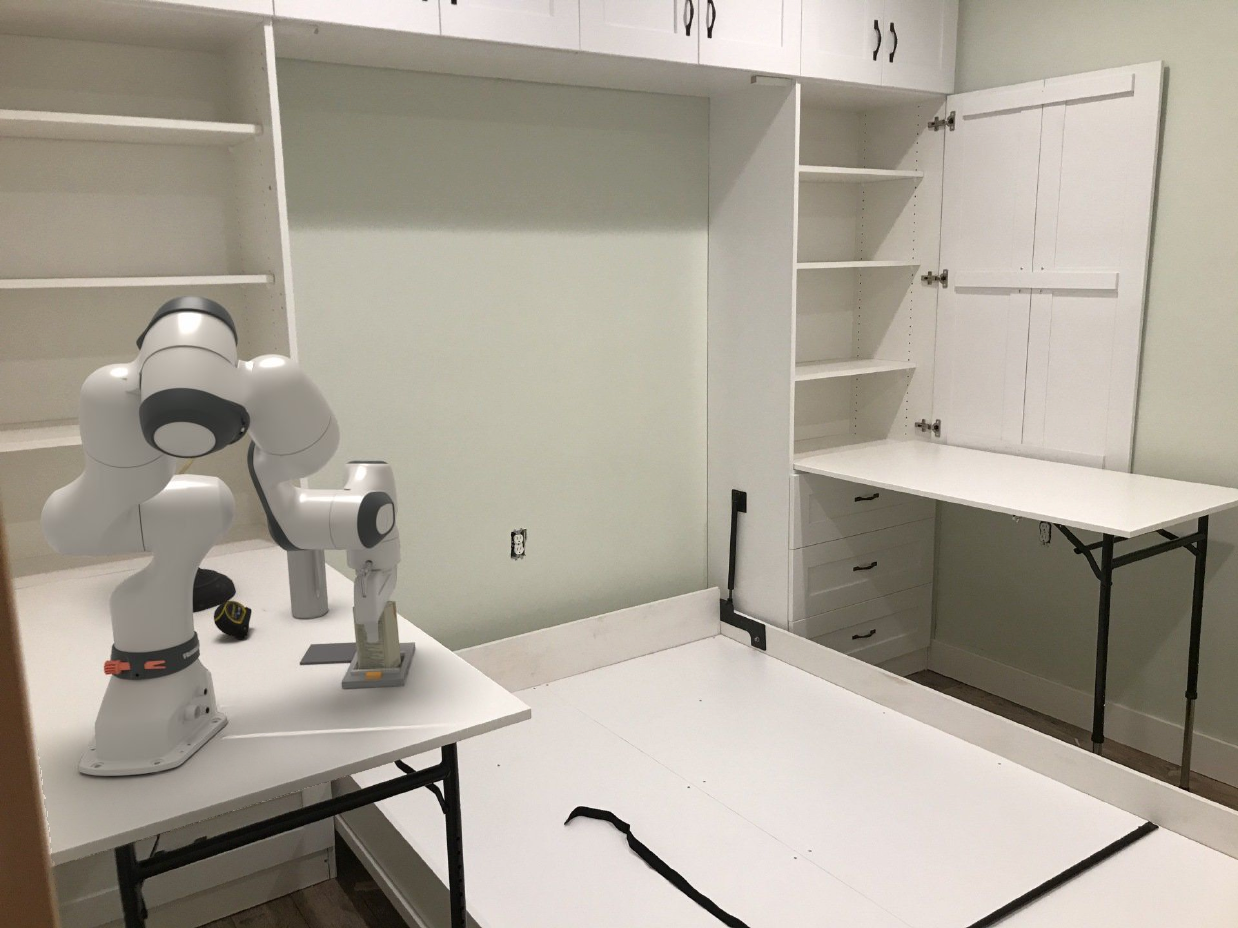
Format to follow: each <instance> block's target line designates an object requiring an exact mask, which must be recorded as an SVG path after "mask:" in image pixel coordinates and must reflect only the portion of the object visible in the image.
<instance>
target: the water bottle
mask: <svg viewBox="0 0 1238 928" xmlns="http://www.w3.org/2000/svg"><path fill="white" fill-rule="evenodd" d="M286 556H287V559H286V560H287V570H288V581H289V583H288V584H289V595H290V597H289V598H290V609H291V614H292V616H293V617H294V618H296V619H299V618H300V620H310V618H311V619H315V618H319V617H322V616H324V614H325V615H326V614H327V612H328V611H329V601H328V597H329V596H328V586H327V573H326V572H327V570H326V558H325V550H302V551H286Z"/></svg>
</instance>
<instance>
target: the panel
mask: <svg viewBox="0 0 1238 928" xmlns="http://www.w3.org/2000/svg"><path fill="white" fill-rule="evenodd" d="M399 647H400V658H401V668H383V669H361V670H358V660H357V651H356V653H355V655H354V657H353V659H352V661H351V663H350V664H349V666H348V668H347V670H346V672H345V674H344V677H343V678H342V680H341V689H344V690H345V689H363V688H365V689H366V688H382V687H383V688H386V687H402V686H404V685H405V682H406V679H407V675H408V673H409V669H410V666H411V664H412V660H413V657H414V654H415V651H416V642H414V641H412V642H399Z"/></svg>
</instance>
